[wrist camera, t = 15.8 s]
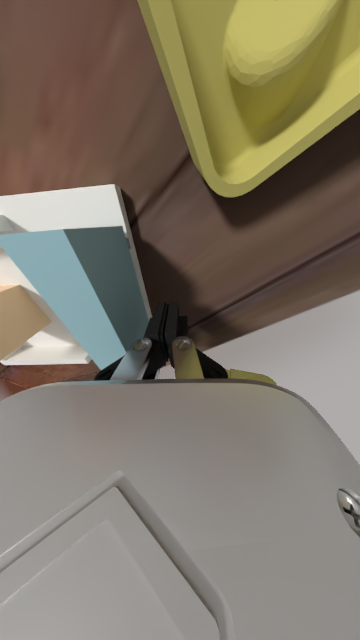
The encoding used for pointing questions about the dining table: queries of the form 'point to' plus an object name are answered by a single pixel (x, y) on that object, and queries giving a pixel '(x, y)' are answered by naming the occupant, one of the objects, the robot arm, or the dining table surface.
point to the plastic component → (255, 79)
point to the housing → (54, 214)
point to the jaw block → (18, 318)
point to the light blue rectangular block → (85, 285)
